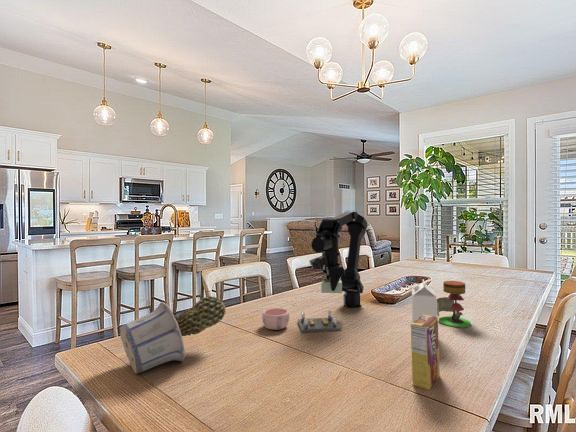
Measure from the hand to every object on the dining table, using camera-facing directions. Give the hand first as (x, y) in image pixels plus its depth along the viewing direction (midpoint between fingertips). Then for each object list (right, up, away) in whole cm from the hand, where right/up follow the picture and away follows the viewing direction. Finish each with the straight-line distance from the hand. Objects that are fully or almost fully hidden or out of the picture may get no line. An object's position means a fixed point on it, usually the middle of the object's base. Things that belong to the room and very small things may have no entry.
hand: (331, 288), depth 132 cm
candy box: (+17, -12, -49) cm, 53 cm away
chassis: (-6, -12, -9) cm, 16 cm away
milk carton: (+28, -12, -23) cm, 38 cm away
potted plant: (-50, -13, -34) cm, 62 cm away
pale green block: (0, -1, 0) cm, 1 cm away
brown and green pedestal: (+45, -11, -8) cm, 47 cm away
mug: (-22, -12, -9) cm, 27 cm away
